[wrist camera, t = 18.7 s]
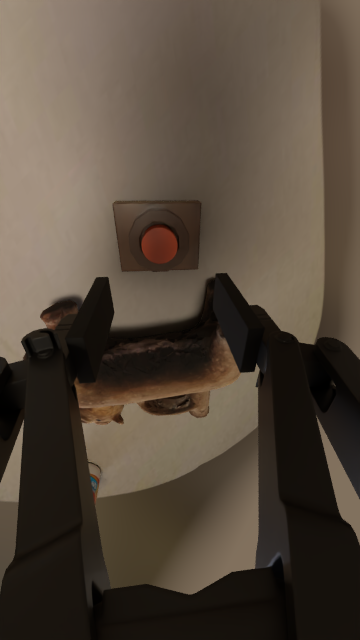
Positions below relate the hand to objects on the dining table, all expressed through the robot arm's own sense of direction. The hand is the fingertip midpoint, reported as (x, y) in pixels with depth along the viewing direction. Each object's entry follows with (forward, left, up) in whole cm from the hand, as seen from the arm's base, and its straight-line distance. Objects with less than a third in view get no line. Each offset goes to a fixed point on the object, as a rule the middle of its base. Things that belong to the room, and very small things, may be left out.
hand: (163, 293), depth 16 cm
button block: (0, 0, -17) cm, 17 cm away
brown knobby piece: (+2, +19, -17) cm, 26 cm away
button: (0, 0, -13) cm, 13 cm away
